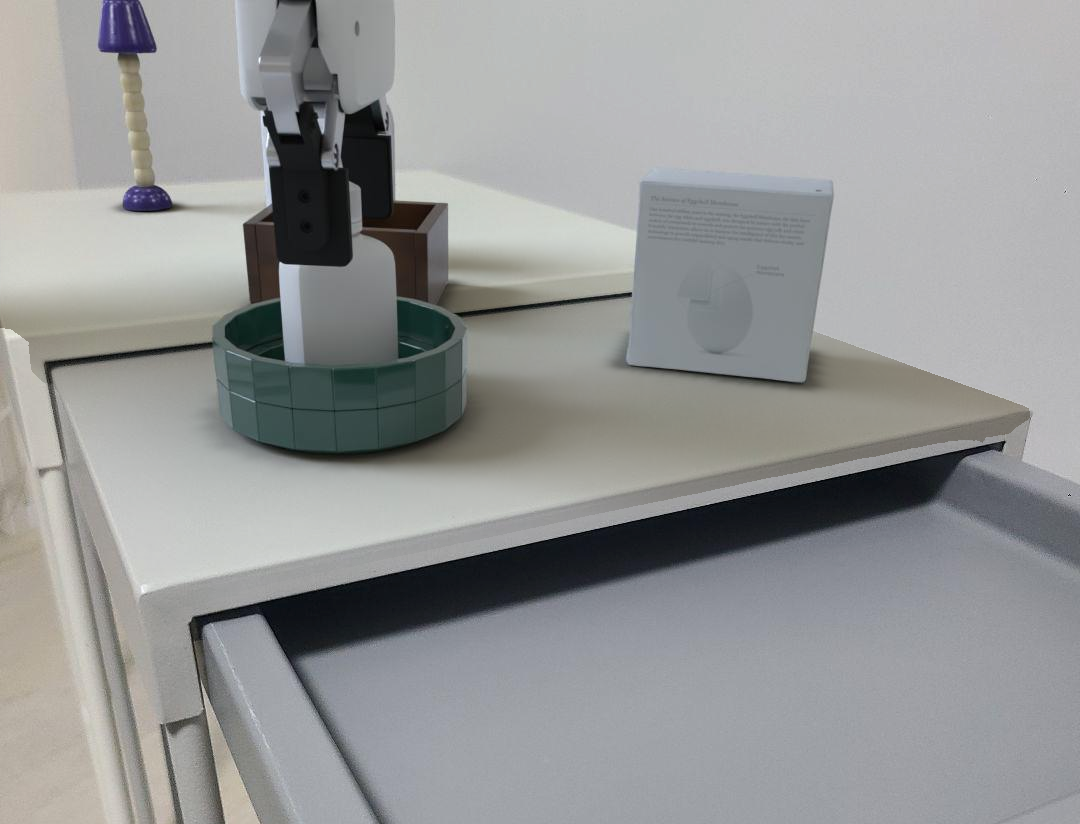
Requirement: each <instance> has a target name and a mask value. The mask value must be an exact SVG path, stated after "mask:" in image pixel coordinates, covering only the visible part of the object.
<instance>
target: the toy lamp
mask: <svg viewBox="0 0 1080 824" xmlns="http://www.w3.org/2000/svg"><path fill="white" fill-rule="evenodd" d="M99 18H100V20H99V30H98V39H97V48H98V50H99V52H101V53H105V54H106V53H108V54H117V65H118V69H119V71H120V72H121V73H120V76H119V82H120V83H119V84H120V86H121V89H122V91H123V94H122V103H123V107H124V109H125V110H126V112H125V115H124V118H125V124H126V127H127V129H128V130H129V131H128V134H127V138H128V140H127V141H128V143H129V146H130V148H131V152H130V157H131V161H132V165H133V167H134V171H133V178H134V182H135V184H136V185H133V186H131V187H129V188H128V189H127V190H126V191H125V193H124V195H123V199H122V208H123V209H124V210H127V211H134V212H137V211H138V212H147V211H148V212H149V211H161V210H165V209H170V208H171V207H173V201H172V198H171V196H170V195H169V193H168V192H167V190H165V189H164V188H162V187H160V186H158V185H157V184H155V182H156V175H155V172H154V171H155V170H154V169H153V168H152V166H153V155H152V152H151V150H150V146H151V137H150V135H149V134H150V133H148V131H147V129H148V119H147V115H146V113H145V112H144V111H145V106H146V105H145V97H144V95H143V93H142V90H143V80H142V77H141V75H140V73H139V72H140V69H141V62H140V58H139V55H138V54H156V53H157V50H158V48H157V43H156V41H155V37H154V35H153V31H152V29H151V26H150V24H149V20H148V18H147V16H146V13H145V9H144V8H143V5H142V3H141V1H140V0H102V2H101V8H100V17H99Z"/></svg>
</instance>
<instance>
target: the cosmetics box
mask: <svg viewBox="0 0 1080 824" xmlns="http://www.w3.org/2000/svg"><path fill="white" fill-rule="evenodd" d="M638 187H639V188H638V209H637V210H638V212H637V224H636V225H637V226H636V238H635V251H634V265H633V278H632V292H631V305H630V316H629V317H630V319H629V335H628V336H629V338H628V345H627V347H626V348H627V349H626V355H625V356H626V358H625V362H626V363H627V365H629V366H634V367H635V366H636V367H645V368H647V367H649V368H657V369H658V368H659V369H667V370H668V369H670V370H678V371H688V372H698V373H706V374H716V375H726V376H738V377H747V378H756V379H757V378H758V379H765V380H766V379H767V380H772V381H773V380H774V381H783V382H791V383H804V382H805V381H806V379H807V374H808V373H807V372H808V365H809V358H810V353H811V345H812V340H813V333H814V327H815V320H816V314H817V306H818V301H819V295H820V289H821V282H822V276H823V269H824V262H825V257H826V251H827V250H826V249H827V243H828V235H829V229H830V223H831V216H832V209H833V204H834V198H835V191H834V181H833V180H832V179H823V178H811V177H810V178H809V177H808V178H807V177H794V176H780V175H768V174H767V175H765V174H754V173H753V174H752V173H737V172H726V171H725V172H724V171H711V170H710V171H709V170H697V169H696V170H695V169H683V168H672V167H671V168H669V167H654V168H652V169H651V170H650V171H649V172H648V173H647V174H646V175H645V176H644V177H643V178H642V179H641V180H640V181H639V183H638Z"/></svg>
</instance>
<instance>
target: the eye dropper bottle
mask: <svg viewBox="0 0 1080 824" xmlns="http://www.w3.org/2000/svg"><path fill="white" fill-rule="evenodd" d="M339 168H343V166H342V161H341V157H340V165H339ZM349 191H350V209H351V228H352V247H353V258H352V260H351V262H350V263H349V264H348V265H347V266H345V267H333V266H310V265H288V264H283V263H281V262H280V263H279V282H280V299H281V313H282V327H283V340H284V353H285V361H287V362H292V363H307V364H325V365H343V364H364V363H376V362H383V361H389V360H395V359H398V331H397V298H396V273H395V260H394V255H393V253H392V251H391V250H390V248H389V247H388V246H387V245H385V244H384V243H383V242H381V241H379V240H377V239H374V238H372V237H369V236H365V235H361V234H360V233H359V232H360V231H362V210H361V188H360V187H359V186H358V185H356V184H354V183H352V182H350V181H349Z"/></svg>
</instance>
